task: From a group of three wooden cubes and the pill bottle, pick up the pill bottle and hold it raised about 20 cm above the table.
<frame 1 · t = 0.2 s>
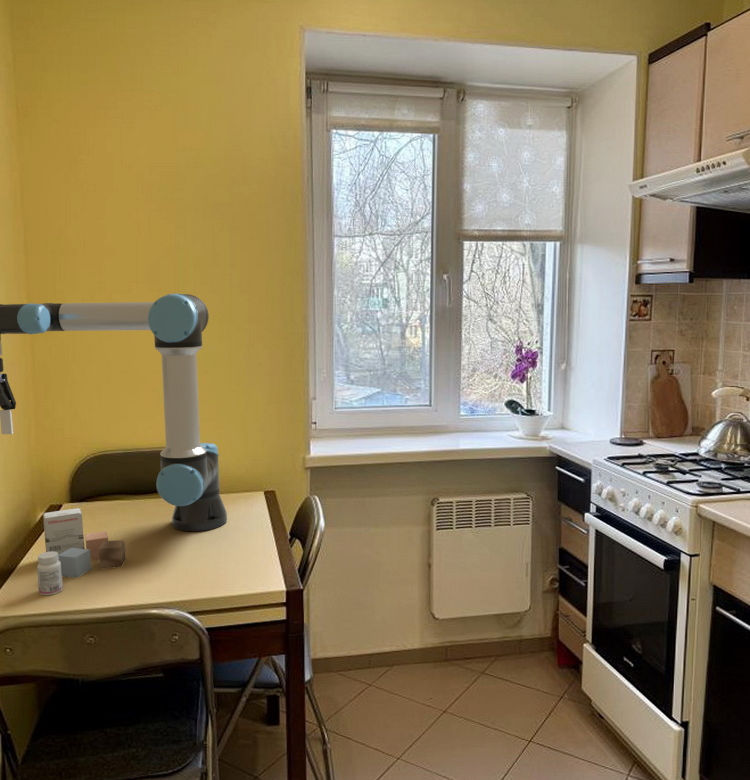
slate blue cube: (75, 572, 157), on the table
pill bottle: (51, 592, 147), on the table
ink box: (66, 558, 166), on the table
terracotta cube: (97, 554, 168), on the table
walnut cube: (113, 564, 162), on the table
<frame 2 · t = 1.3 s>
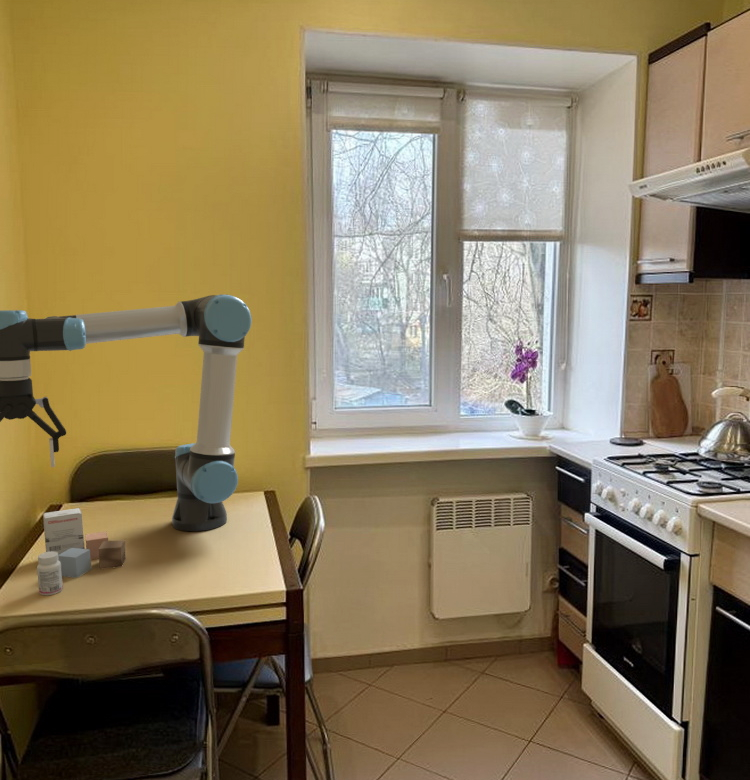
hand: (20, 469, 155), 25 cm above the table, fingers open, 13 cm apart
nothing on the table moved.
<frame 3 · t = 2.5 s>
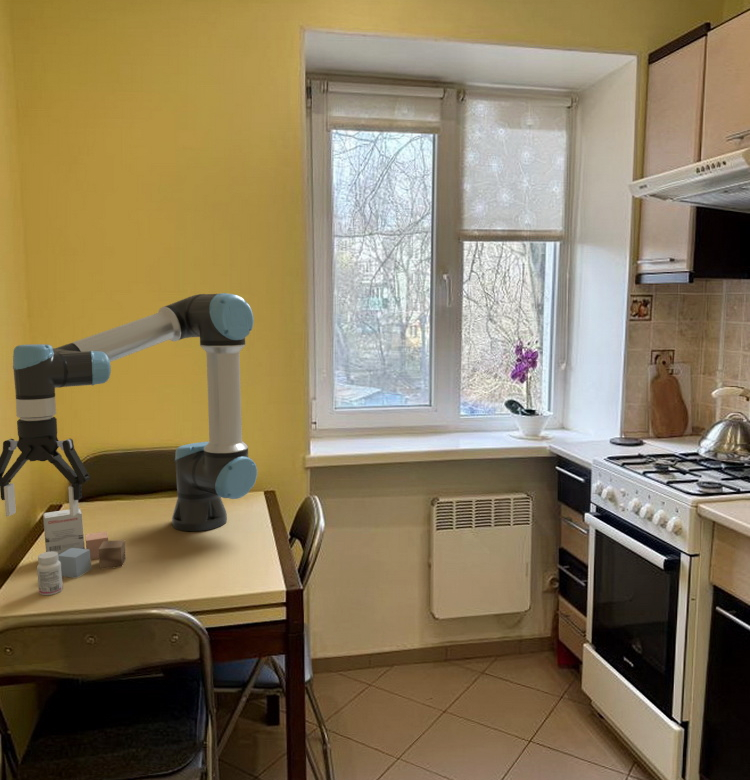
hand: (42, 514, 144), 18 cm above the table, fingers open, 13 cm apart
nothing on the table moved.
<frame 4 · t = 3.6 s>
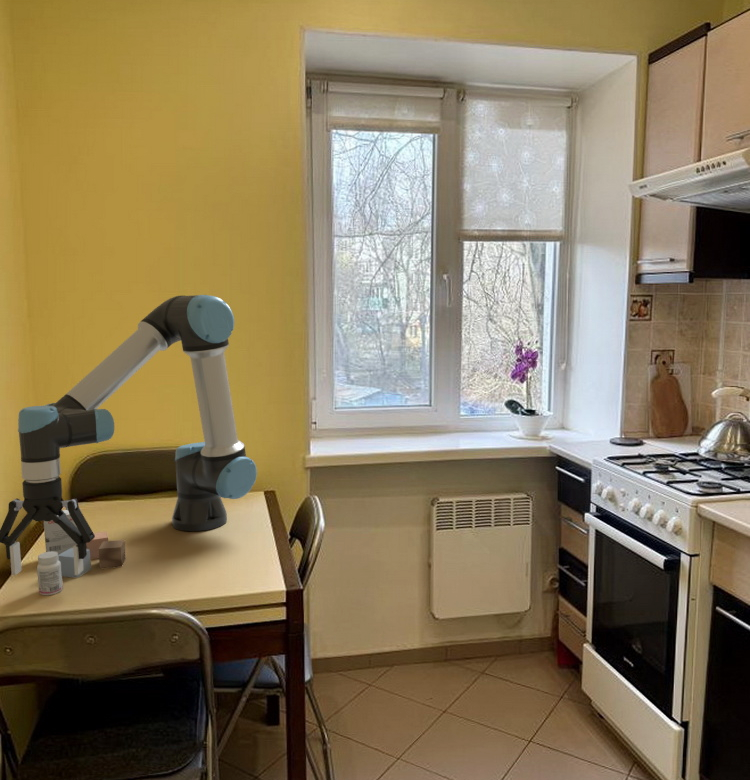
hand: (47, 572, 146), 4 cm above the table, fingers open, 13 cm apart
nothing on the table moved.
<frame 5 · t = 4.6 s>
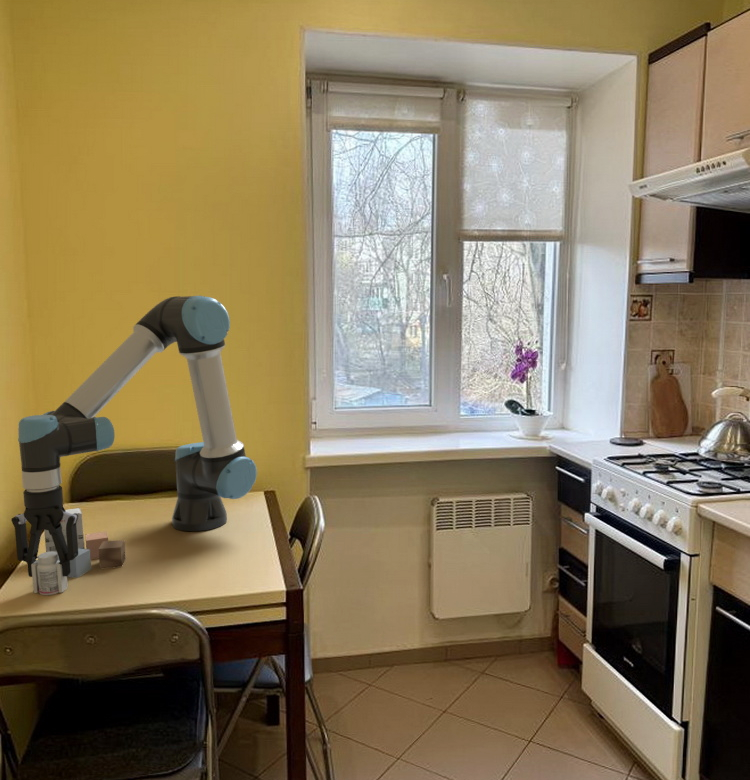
hand: (50, 589, 147), 0 cm above the table, fingers closed on pill bottle, 5 cm apart
pill bottle: (51, 592, 147), on the table, touching gripper
everything else where it was.
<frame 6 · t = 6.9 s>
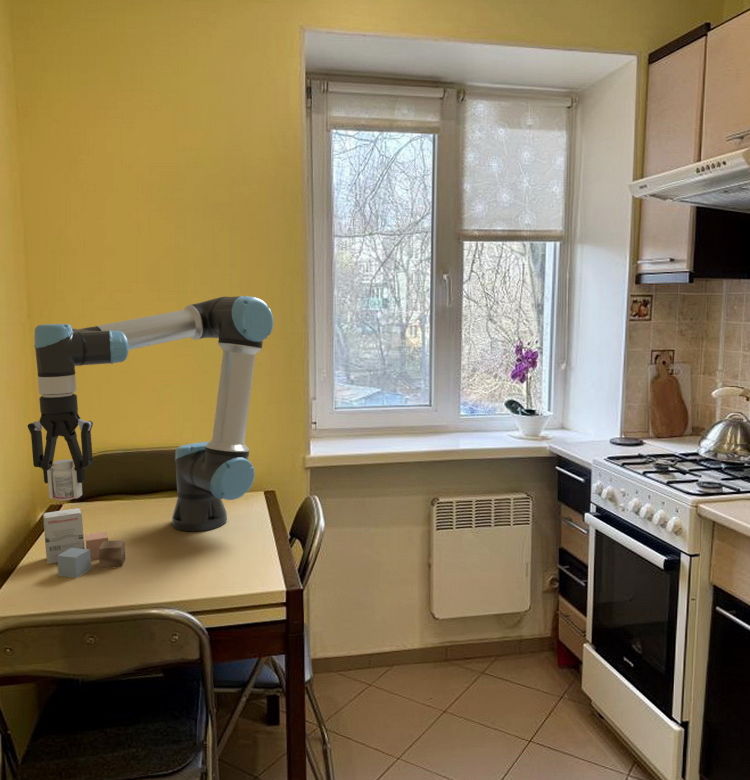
hand: (66, 496, 150), 20 cm above the table, fingers closed on pill bottle, 5 cm apart
pill bottle: (66, 498, 150), point 19 cm above the table, touching gripper
everything else where it was.
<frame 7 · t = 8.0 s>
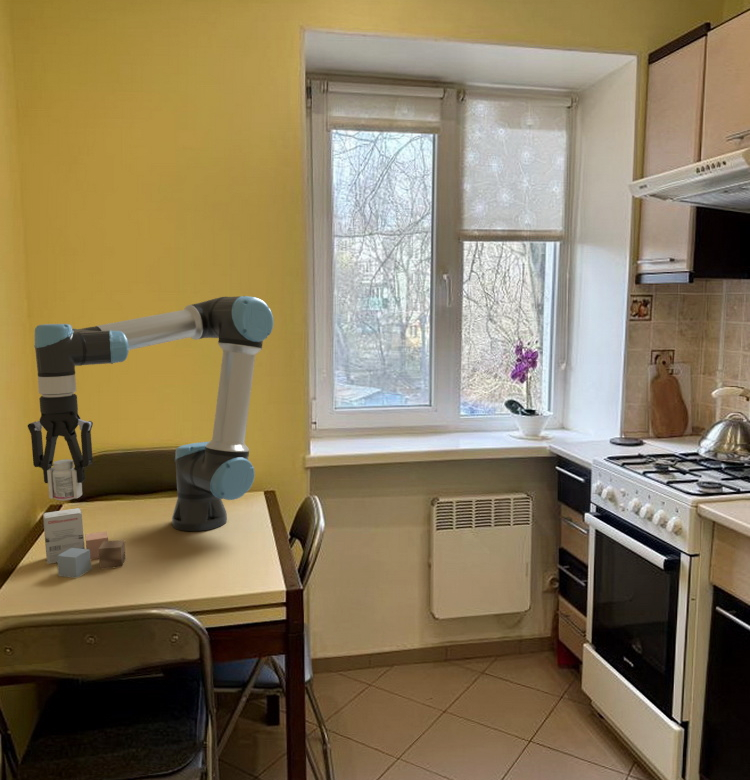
hand: (66, 496, 150), 20 cm above the table, fingers closed on pill bottle, 5 cm apart
pill bottle: (66, 498, 150), point 19 cm above the table, touching gripper
everything else where it was.
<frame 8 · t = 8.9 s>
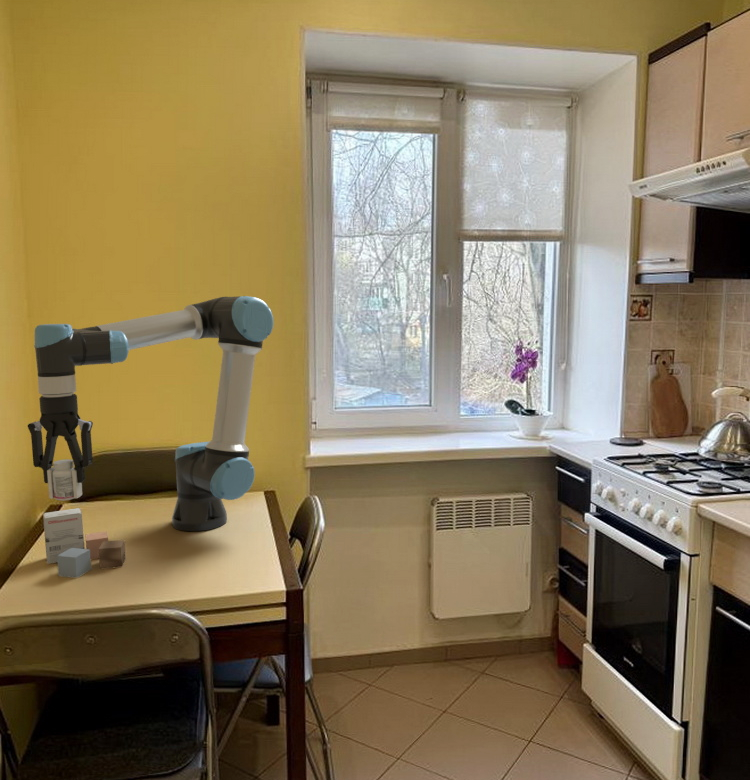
hand: (66, 496, 150), 20 cm above the table, fingers closed on pill bottle, 5 cm apart
pill bottle: (66, 498, 150), point 19 cm above the table, touching gripper
everything else where it was.
at the end: the gripper is holding pill bottle; pill bottle point 19.1 cm above the table; slate blue cube moved 0.1 cm from its start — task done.
